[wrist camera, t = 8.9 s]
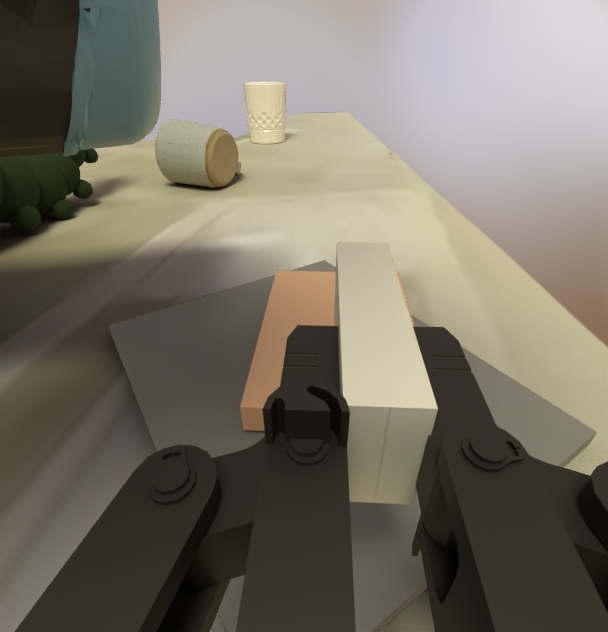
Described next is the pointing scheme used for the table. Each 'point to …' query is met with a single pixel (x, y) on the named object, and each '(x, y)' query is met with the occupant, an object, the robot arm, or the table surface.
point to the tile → (286, 332)
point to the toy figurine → (41, 186)
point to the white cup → (266, 111)
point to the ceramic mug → (196, 154)
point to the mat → (228, 435)
